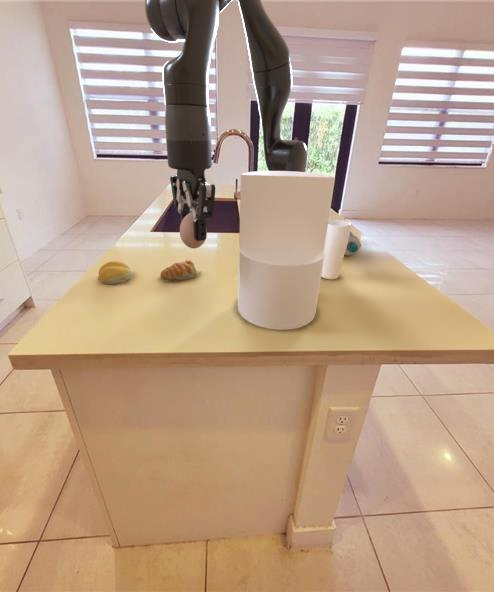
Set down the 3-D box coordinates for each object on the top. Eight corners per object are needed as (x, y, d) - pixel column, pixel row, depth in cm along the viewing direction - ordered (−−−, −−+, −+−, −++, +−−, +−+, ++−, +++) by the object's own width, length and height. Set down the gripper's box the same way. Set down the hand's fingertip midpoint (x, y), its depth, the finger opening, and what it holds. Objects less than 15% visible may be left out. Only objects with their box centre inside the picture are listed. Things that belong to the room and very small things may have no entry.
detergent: (313, 235, 120) (328, 257, 98) (317, 217, 117) (334, 235, 95) (346, 239, 121) (369, 262, 99) (351, 221, 118) (376, 240, 95)
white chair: (239, 289, 78) (242, 169, 65) (308, 292, 78) (325, 172, 65) (236, 328, 63) (239, 181, 50) (322, 331, 63) (348, 184, 50)
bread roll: (99, 287, 78) (95, 272, 76) (99, 273, 85) (97, 259, 83) (133, 283, 80) (131, 268, 78) (131, 269, 88) (129, 256, 86)
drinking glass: (345, 276, 87) (356, 222, 80) (333, 283, 83) (343, 227, 76) (324, 269, 91) (332, 218, 84) (311, 276, 87) (319, 222, 80)
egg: (189, 242, 65) (187, 208, 61) (211, 245, 63) (210, 211, 60) (175, 250, 60) (172, 214, 57) (199, 253, 59) (198, 217, 55)
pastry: (167, 285, 79) (166, 271, 78) (156, 277, 84) (154, 263, 82) (199, 276, 85) (198, 263, 83) (186, 269, 89) (185, 256, 88)
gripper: (230, 139, 49) (229, 243, 57) (190, 136, 60) (194, 224, 68) (186, 139, 45) (192, 250, 53) (152, 136, 56) (161, 229, 64)
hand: (193, 235), depth 60 cm, fingers closed on egg, 5 cm apart
